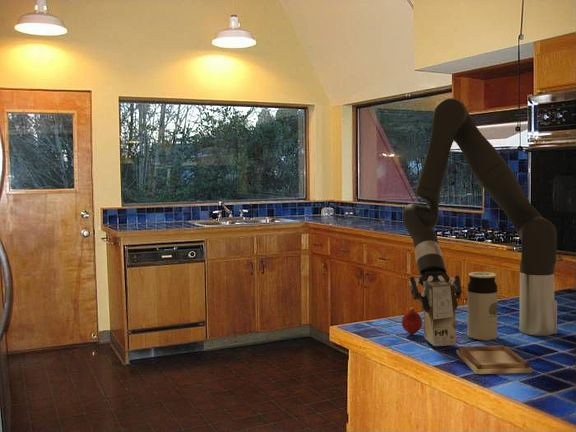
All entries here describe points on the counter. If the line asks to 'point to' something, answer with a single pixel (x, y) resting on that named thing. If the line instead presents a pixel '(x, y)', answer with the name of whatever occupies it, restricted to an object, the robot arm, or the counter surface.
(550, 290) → the robot arm
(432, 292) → the coffee box
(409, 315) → the onion
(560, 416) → the counter surface
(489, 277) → the travel mug
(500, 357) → the wooden tray
